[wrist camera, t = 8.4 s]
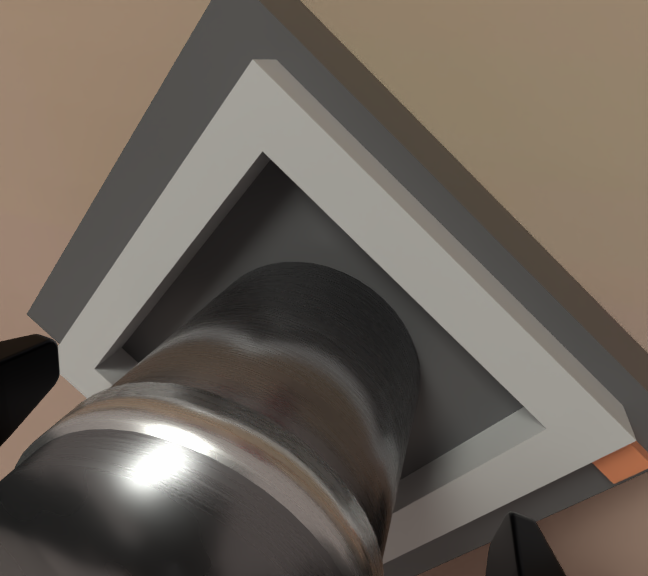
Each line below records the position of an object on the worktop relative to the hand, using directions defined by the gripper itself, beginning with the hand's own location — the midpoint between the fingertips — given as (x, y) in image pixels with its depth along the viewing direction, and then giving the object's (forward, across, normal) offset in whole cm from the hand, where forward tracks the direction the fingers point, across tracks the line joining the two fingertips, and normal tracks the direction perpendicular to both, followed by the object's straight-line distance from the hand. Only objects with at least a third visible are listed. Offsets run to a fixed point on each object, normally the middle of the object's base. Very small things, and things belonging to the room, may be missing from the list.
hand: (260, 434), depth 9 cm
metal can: (+2, 0, 0) cm, 2 cm away
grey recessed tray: (+5, 0, 0) cm, 5 cm away
